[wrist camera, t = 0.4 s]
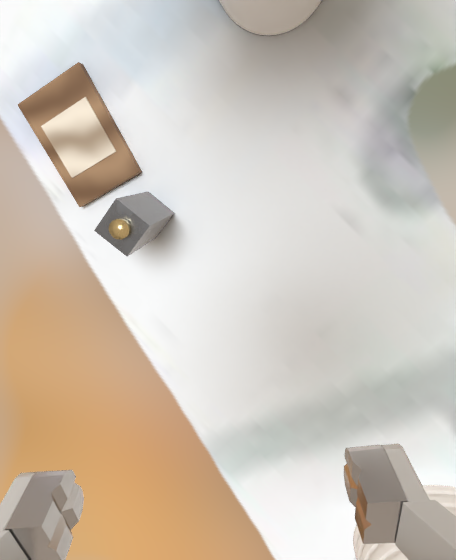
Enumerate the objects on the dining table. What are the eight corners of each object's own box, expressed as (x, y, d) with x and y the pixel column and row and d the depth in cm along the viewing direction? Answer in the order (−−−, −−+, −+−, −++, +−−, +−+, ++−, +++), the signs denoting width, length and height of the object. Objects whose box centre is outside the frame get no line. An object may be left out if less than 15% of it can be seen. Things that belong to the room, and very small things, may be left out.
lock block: (148, 191, 54) (112, 199, 41) (174, 213, 54) (147, 227, 42) (130, 217, 55) (90, 231, 43) (155, 237, 56) (124, 258, 44)
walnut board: (23, 106, 52) (16, 104, 51) (82, 64, 49) (77, 61, 48) (83, 206, 55) (78, 207, 54) (142, 172, 53) (138, 172, 52)
